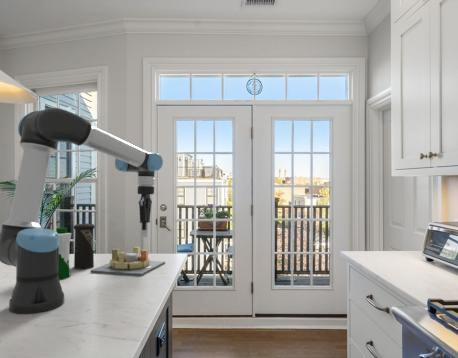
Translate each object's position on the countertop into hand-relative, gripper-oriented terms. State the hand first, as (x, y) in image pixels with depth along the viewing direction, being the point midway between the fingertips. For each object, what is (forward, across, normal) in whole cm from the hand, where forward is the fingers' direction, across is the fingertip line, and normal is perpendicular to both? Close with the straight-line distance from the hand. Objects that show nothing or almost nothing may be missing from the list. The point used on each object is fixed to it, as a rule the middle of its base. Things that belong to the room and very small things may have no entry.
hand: (144, 236), depth 162 cm
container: (+15, -2, +27) cm, 31 cm away
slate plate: (+14, -2, +6) cm, 15 cm away
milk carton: (+15, -21, +29) cm, 39 cm away
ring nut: (+13, -2, +6) cm, 14 cm away
